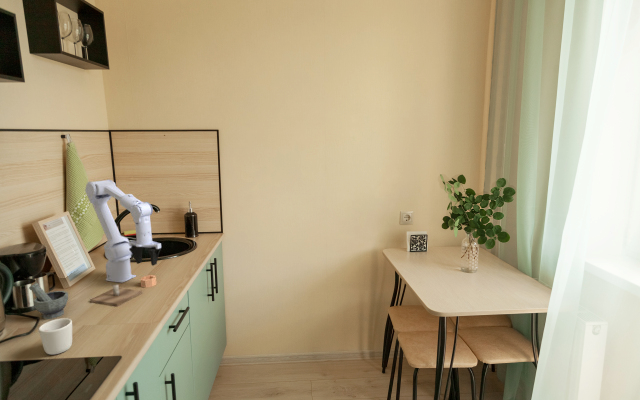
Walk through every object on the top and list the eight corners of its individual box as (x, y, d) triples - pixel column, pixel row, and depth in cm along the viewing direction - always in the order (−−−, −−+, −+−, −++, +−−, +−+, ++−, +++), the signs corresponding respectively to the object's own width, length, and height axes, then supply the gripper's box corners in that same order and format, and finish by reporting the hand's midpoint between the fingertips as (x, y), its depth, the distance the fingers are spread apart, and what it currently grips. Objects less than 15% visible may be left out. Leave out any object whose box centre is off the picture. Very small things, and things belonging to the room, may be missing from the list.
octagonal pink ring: (137, 286, 155) (137, 279, 154) (148, 281, 160) (147, 274, 160) (149, 288, 153) (148, 281, 153) (159, 282, 159) (158, 276, 158)
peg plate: (90, 302, 141) (88, 289, 140) (116, 289, 152) (115, 277, 151) (117, 306, 137) (116, 293, 136) (142, 293, 148) (140, 281, 147)
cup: (58, 338, 116) (55, 314, 114) (85, 336, 116) (82, 312, 115) (35, 358, 105) (31, 332, 104) (65, 356, 106) (61, 330, 104)
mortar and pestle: (75, 307, 136) (71, 276, 134) (61, 320, 127) (57, 287, 125) (42, 310, 135) (37, 278, 133) (25, 322, 125) (20, 289, 123)
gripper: (121, 233, 151) (125, 265, 154) (151, 235, 147) (154, 268, 149) (135, 229, 158) (138, 259, 160) (163, 231, 154) (166, 263, 156)
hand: (146, 263), depth 155 cm, fingers open, 7 cm apart
